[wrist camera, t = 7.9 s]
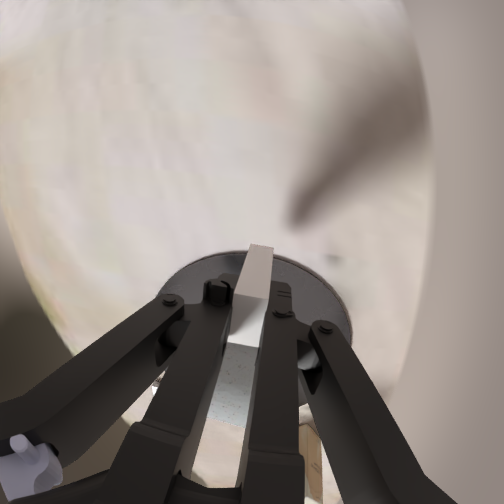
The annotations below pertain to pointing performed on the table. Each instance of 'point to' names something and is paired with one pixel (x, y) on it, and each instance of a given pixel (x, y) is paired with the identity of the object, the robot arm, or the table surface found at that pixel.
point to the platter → (301, 282)
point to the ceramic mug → (234, 385)
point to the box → (311, 464)
